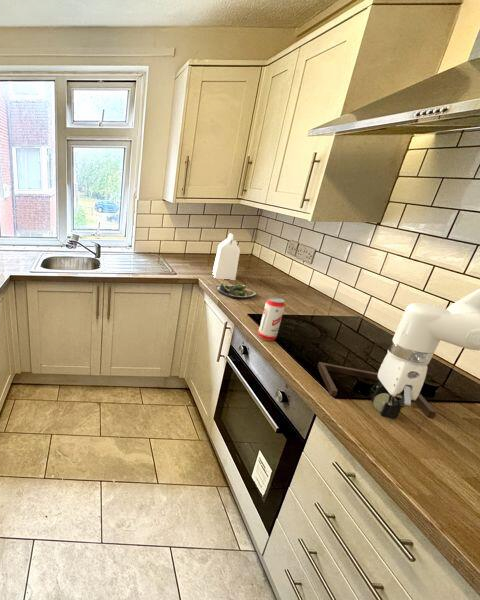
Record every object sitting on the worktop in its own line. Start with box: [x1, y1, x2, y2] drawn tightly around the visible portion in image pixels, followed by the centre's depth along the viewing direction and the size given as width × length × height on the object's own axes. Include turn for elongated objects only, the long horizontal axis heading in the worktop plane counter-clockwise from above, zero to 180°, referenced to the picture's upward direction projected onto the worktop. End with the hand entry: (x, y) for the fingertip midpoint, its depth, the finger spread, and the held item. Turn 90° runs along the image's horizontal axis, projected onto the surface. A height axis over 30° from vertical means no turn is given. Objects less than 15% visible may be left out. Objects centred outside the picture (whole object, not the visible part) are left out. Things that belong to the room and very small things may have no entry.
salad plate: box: [214, 283, 257, 300], centre depth 167 cm, size 19×18×5 cm
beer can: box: [257, 296, 286, 342], centre depth 119 cm, size 6×6×16 cm
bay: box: [316, 361, 437, 419], centre depth 93 cm, size 22×16×2 cm
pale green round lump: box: [373, 393, 398, 412], centre depth 85 cm, size 4×5×5 cm
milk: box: [212, 233, 241, 281], centre depth 189 cm, size 12×12×26 cm
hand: (383, 409), depth 85 cm, fingers closed on pale green round lump, 5 cm apart
